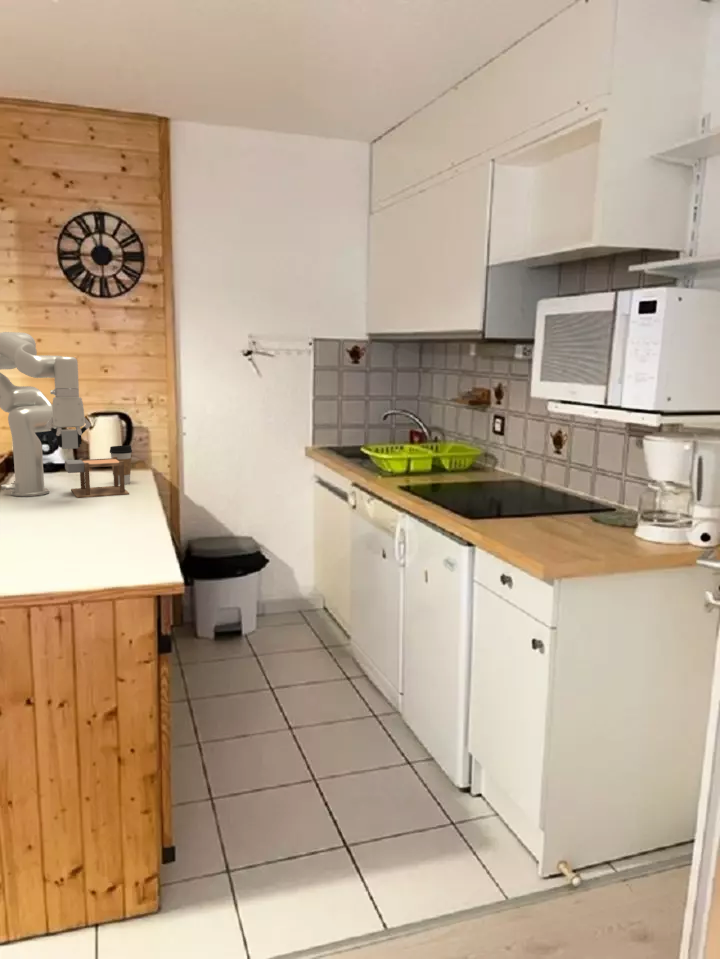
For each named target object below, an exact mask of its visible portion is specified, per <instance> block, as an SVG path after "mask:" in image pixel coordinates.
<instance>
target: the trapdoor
mask: <svg viewBox="0 0 720 959" xmlns="http://www.w3.org/2000/svg"><path fill="white" fill-rule="evenodd" d="M106 459H107V460H87V459H86V460H87V461H82V460H79V459H70V460H64V469H65V471H66V472H67V473H68V474H74V473H75V474H76V473H80V472H84V473H85V471H84V463H89V464H103V463H119V461H118V460H116V459H108V458H106Z"/></svg>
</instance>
